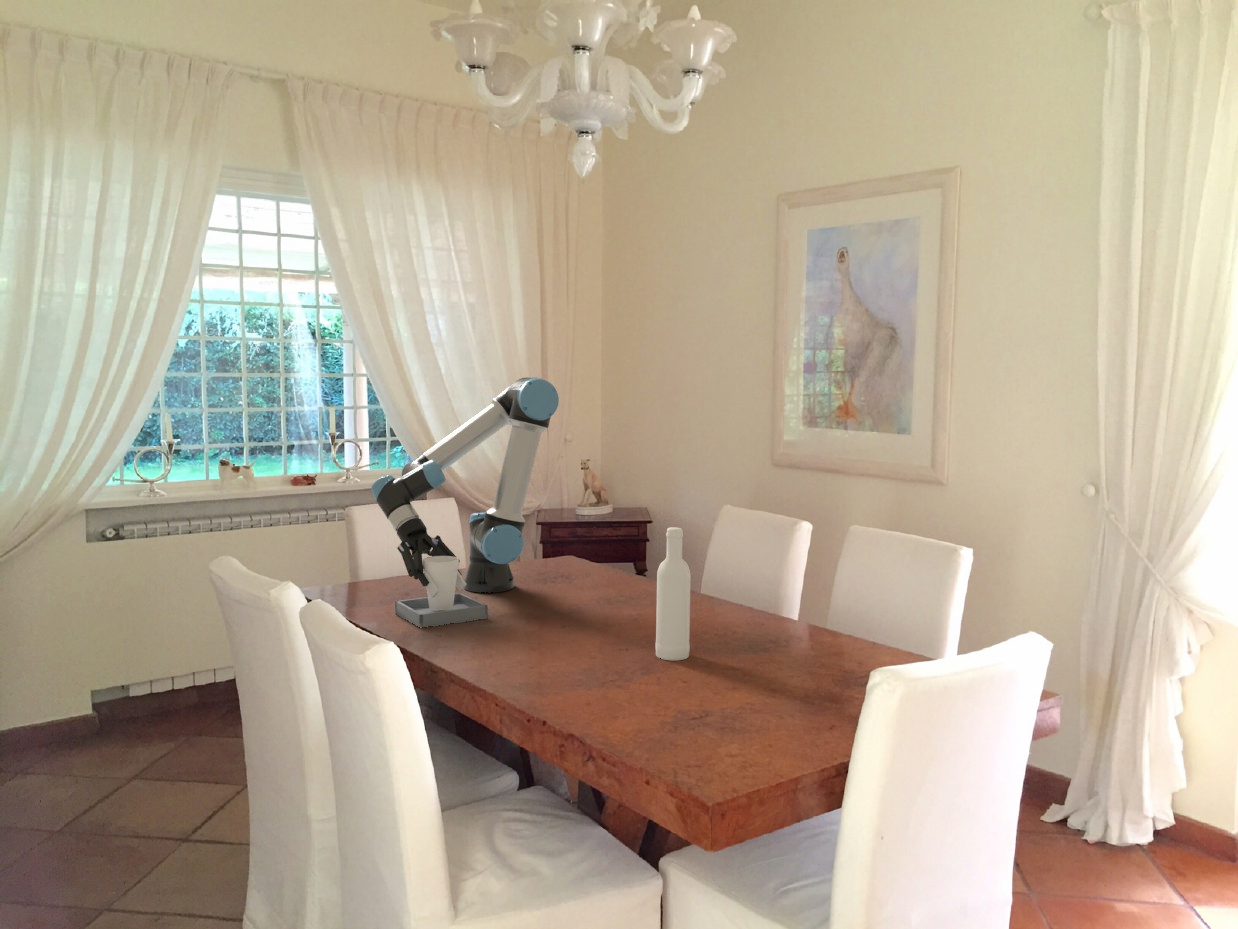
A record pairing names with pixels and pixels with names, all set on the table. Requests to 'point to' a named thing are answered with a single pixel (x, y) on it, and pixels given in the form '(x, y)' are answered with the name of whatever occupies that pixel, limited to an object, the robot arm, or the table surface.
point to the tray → (441, 611)
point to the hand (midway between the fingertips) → (449, 591)
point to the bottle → (673, 601)
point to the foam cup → (442, 580)
